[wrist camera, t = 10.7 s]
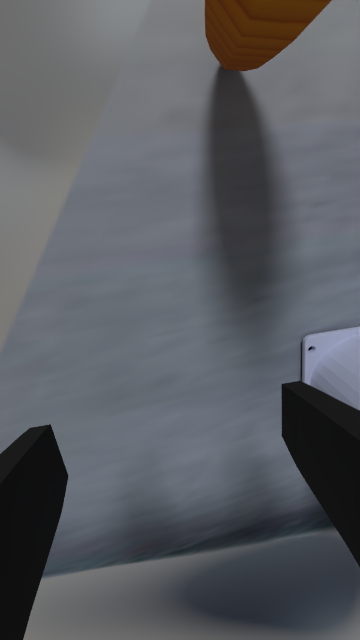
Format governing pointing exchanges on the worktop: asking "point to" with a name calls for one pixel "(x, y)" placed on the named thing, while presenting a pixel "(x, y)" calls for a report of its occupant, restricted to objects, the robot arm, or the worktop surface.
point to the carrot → (255, 28)
